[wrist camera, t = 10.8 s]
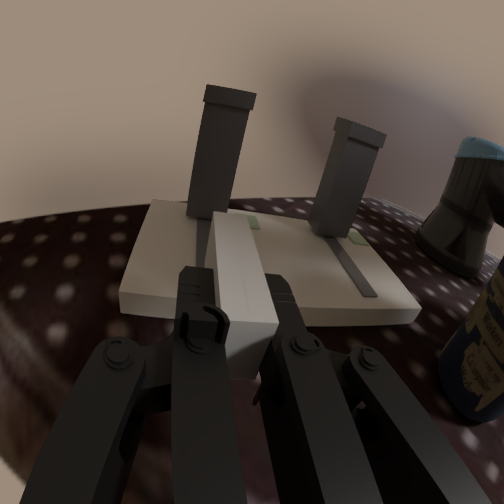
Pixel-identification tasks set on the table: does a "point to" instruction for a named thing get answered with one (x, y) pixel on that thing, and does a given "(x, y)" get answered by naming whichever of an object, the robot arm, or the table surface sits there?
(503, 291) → the canister
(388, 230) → the table surface
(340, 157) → the switch
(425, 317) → the table surface
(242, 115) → the switch
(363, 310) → the switch board
